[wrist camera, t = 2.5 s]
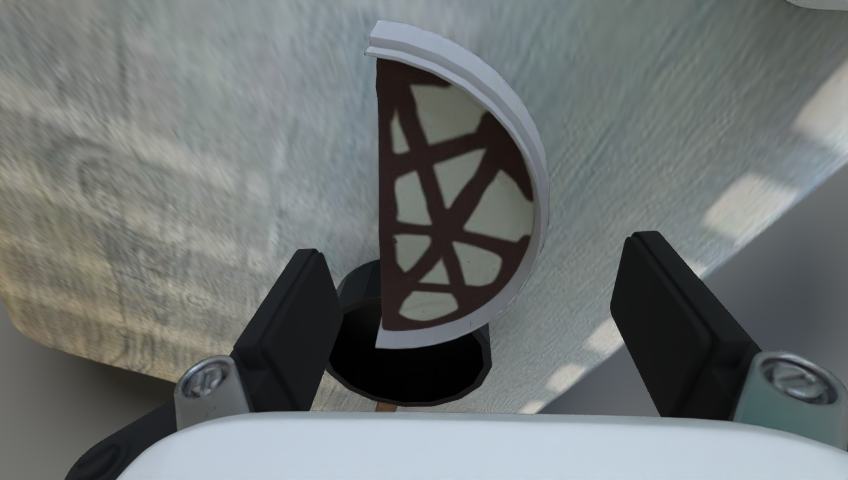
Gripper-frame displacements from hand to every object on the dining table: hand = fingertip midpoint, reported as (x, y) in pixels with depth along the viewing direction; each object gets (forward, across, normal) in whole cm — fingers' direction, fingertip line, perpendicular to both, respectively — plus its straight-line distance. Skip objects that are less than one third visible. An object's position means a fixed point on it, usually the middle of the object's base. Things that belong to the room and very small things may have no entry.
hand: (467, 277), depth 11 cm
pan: (+11, +7, +17) cm, 21 cm away
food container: (+11, 0, -1) cm, 11 cm away
